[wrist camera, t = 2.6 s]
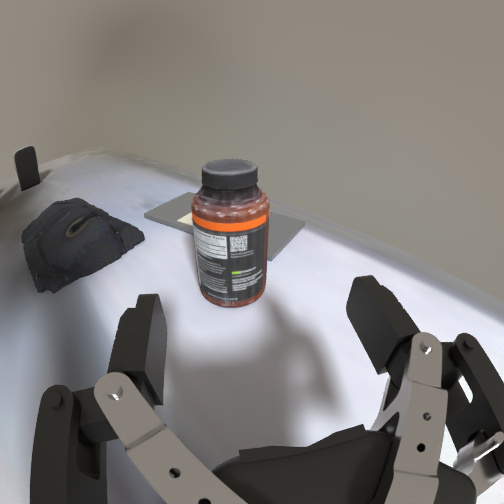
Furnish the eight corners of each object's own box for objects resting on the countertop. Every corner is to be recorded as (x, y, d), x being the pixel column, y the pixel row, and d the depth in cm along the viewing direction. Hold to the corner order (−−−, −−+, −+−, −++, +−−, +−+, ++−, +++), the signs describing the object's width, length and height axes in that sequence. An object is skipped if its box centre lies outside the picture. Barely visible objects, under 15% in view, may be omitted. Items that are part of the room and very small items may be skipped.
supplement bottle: (234, 261, 29) (234, 151, 23) (278, 288, 25) (290, 165, 19) (187, 286, 25) (173, 165, 19) (229, 322, 22) (225, 183, 15)
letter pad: (144, 217, 37) (143, 213, 37) (188, 195, 44) (188, 191, 44) (271, 261, 29) (271, 255, 29) (304, 225, 36) (305, 220, 36)
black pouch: (91, 204, 43) (86, 179, 41) (154, 246, 32) (148, 209, 29) (18, 238, 33) (10, 212, 30) (43, 306, 22) (25, 269, 19)
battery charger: (39, 181, 59) (32, 143, 53) (41, 182, 57) (34, 143, 51) (19, 190, 54) (11, 151, 48) (20, 192, 52) (12, 152, 46)
